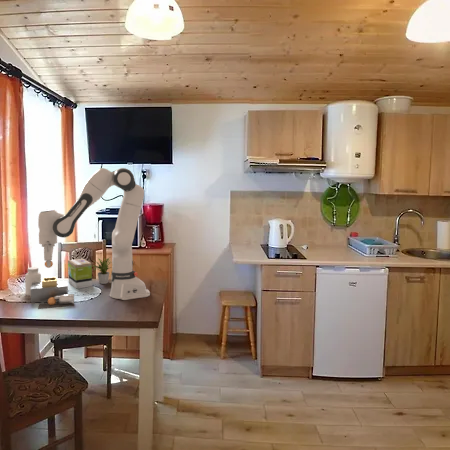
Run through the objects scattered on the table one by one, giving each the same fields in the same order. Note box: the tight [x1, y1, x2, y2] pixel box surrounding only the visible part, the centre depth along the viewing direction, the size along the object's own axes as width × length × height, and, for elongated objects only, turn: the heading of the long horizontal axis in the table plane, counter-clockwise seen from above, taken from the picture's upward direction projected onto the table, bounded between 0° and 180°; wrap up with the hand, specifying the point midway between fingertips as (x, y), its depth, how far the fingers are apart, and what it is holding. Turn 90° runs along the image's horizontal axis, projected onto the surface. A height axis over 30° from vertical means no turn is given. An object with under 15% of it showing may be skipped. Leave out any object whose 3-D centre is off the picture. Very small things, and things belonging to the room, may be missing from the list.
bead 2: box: [47, 297, 57, 305], centre depth 208 cm, size 4×4×4 cm
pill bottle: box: [24, 266, 42, 297], centre depth 225 cm, size 8×8×15 cm
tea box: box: [67, 258, 93, 290], centre depth 246 cm, size 15×10×15 cm, turn 39°
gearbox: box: [30, 276, 69, 304], centre depth 218 cm, size 18×12×11 cm, turn 111°
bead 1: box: [44, 260, 54, 269], centre depth 215 cm, size 4×4×4 cm
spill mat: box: [37, 301, 75, 310], centre depth 208 cm, size 17×9×1 cm, turn 111°
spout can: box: [55, 293, 75, 305], centre depth 209 cm, size 9×5×5 cm, turn 111°
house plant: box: [92, 257, 112, 285], centre depth 252 cm, size 14×14×16 cm
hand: (49, 265), depth 215 cm, fingers closed on bead 1, 4 cm apart
